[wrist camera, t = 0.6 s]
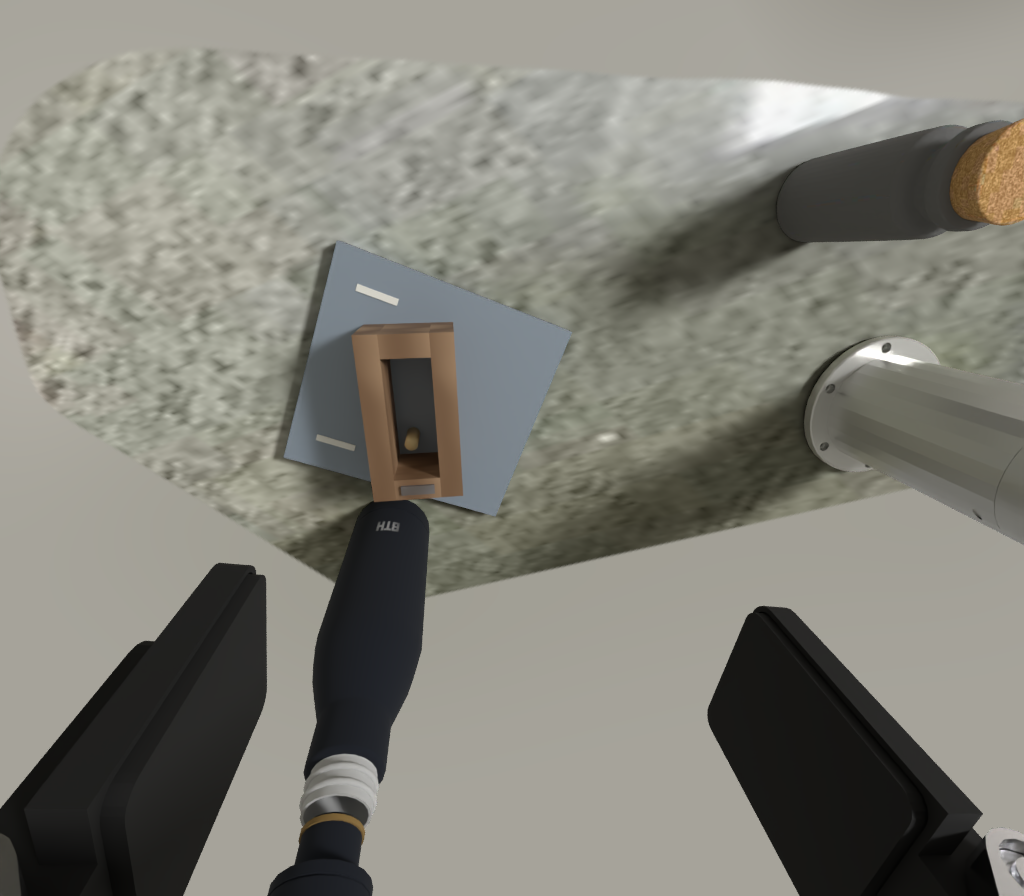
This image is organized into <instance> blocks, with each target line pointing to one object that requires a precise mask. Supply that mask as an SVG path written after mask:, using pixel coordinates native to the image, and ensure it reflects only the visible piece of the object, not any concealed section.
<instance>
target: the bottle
mask: <svg viewBox="0 0 1024 896" xmlns="http://www.w3.org/2000/svg"><path fill="white" fill-rule="evenodd" d="M777 218H778V222H779V225H780V227H781V229H782V230H783V232H784V233H785V234H786V235H787V236H788V237H790V238H791V239H793V240H796V241H800V242H850V241H887V240H913V239H926V238H931V237H934V236H937V235H940V234H942V233H944V232H945V231H971V230H976V229H979V228H982V227H985V226H987V225H989V224H994V225H1010V224H1014V223H1017V222H1019V221H1022V220H1024V119H1021V120H1019V121H1017V122H1014V123H1011V122H1008V121H991V122H986V123H982V124H979V125H975V126H972V127H970V128H966V127H963V126H959V125H945V126H940V127H936V128H932V129H927V130H923V131H919V132H915V133H911V134H907V135H903V136H899V137H895V138H891V139H887V140H883V141H879V142H875V143H871V144H867V145H863V146H860V147H856V148H852V149H848V150H844V151H840V152H836V153H832V154H829V155H825V156H821V157H818V158H814V159H811V160H809V161H807V162H805V163H803V164H801V165H800V166H798V167H797V168H796V169H795V170H794V171H793V172H792V173H791V174H790V175H789V176H788V177H787V179H786V181H785V182H784V184H783V186H782V188H781V190H780V193H779V196H778V201H777Z"/></svg>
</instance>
